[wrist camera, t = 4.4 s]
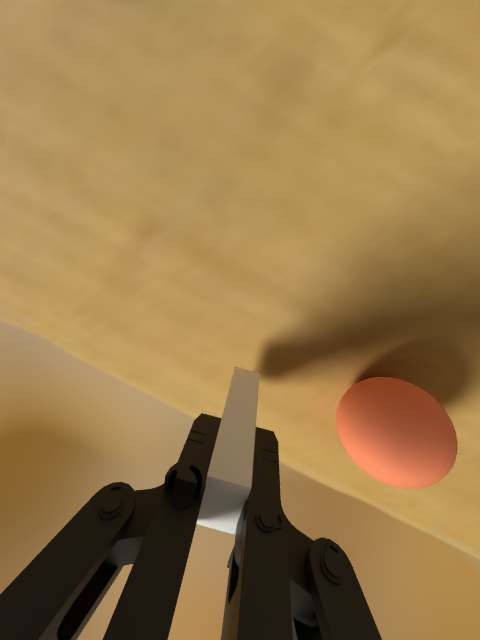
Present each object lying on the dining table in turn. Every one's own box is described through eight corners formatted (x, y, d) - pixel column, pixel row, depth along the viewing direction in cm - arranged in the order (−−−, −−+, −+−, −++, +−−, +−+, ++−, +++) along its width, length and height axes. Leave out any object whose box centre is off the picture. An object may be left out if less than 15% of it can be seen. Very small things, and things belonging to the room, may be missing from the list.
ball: (343, 350, 14) (384, 415, 9) (431, 370, 14) (522, 448, 9) (316, 415, 16) (337, 498, 11) (392, 434, 16) (448, 526, 11)
